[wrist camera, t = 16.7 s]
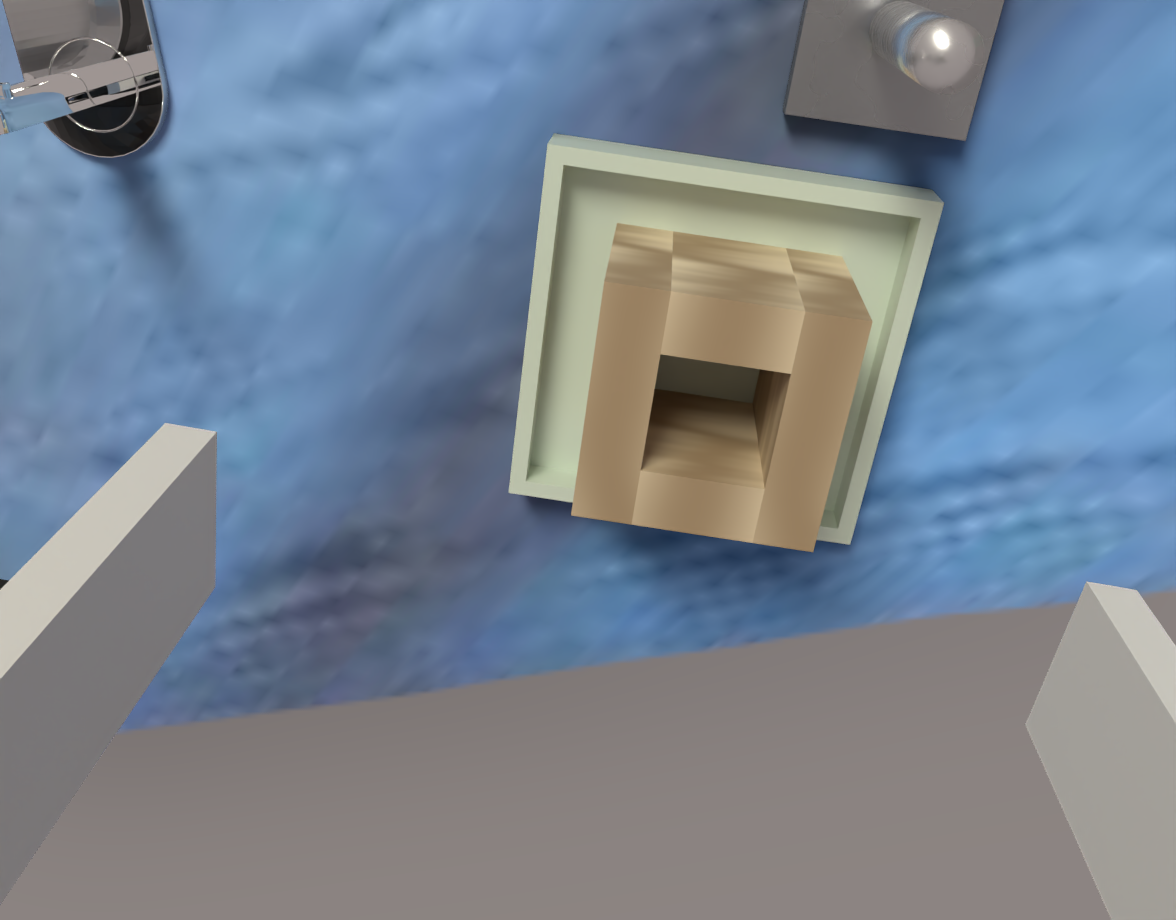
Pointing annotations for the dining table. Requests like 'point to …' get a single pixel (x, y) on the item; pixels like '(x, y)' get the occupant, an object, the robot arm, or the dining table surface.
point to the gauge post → (892, 63)
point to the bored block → (713, 425)
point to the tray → (722, 210)
